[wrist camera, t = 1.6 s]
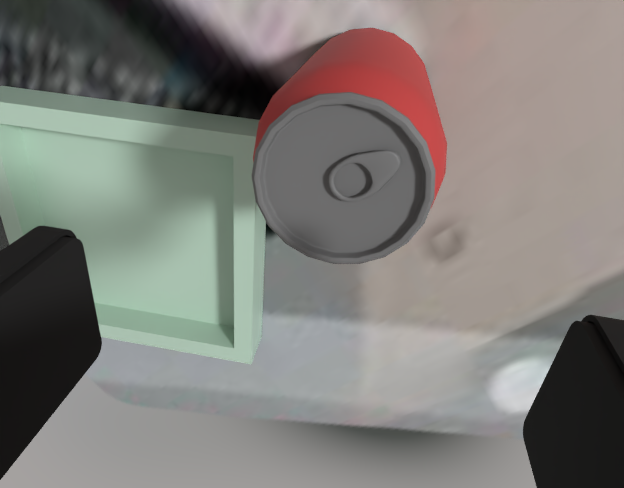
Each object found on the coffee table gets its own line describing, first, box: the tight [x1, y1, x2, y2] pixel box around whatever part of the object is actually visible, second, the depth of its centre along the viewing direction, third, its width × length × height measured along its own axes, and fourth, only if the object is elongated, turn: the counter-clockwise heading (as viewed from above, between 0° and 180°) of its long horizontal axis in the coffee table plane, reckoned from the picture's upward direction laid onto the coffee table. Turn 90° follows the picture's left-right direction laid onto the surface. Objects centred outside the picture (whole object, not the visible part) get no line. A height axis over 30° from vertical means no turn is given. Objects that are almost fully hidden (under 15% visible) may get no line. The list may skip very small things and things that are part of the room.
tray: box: [0, 86, 266, 364], centre depth 29 cm, size 16×16×3 cm
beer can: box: [252, 28, 447, 264], centre depth 19 cm, size 7×7×12 cm
